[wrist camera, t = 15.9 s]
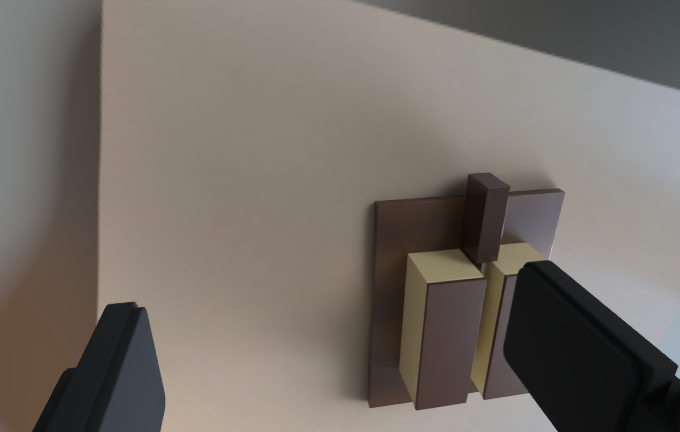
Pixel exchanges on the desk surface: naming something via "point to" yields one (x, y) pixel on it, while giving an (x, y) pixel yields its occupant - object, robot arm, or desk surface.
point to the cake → (459, 325)
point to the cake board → (424, 236)
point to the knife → (483, 218)
